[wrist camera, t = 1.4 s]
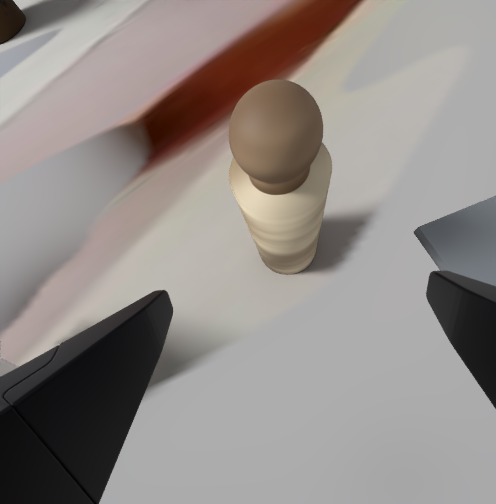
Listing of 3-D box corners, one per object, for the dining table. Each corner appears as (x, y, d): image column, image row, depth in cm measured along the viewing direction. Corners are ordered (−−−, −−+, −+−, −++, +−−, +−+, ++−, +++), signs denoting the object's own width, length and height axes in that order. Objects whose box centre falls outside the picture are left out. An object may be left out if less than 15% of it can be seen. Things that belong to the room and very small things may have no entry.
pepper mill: (325, 261, 21) (378, 110, 7) (271, 283, 22) (225, 176, 8) (301, 214, 23) (307, 24, 9) (251, 234, 23) (185, 79, 10)
